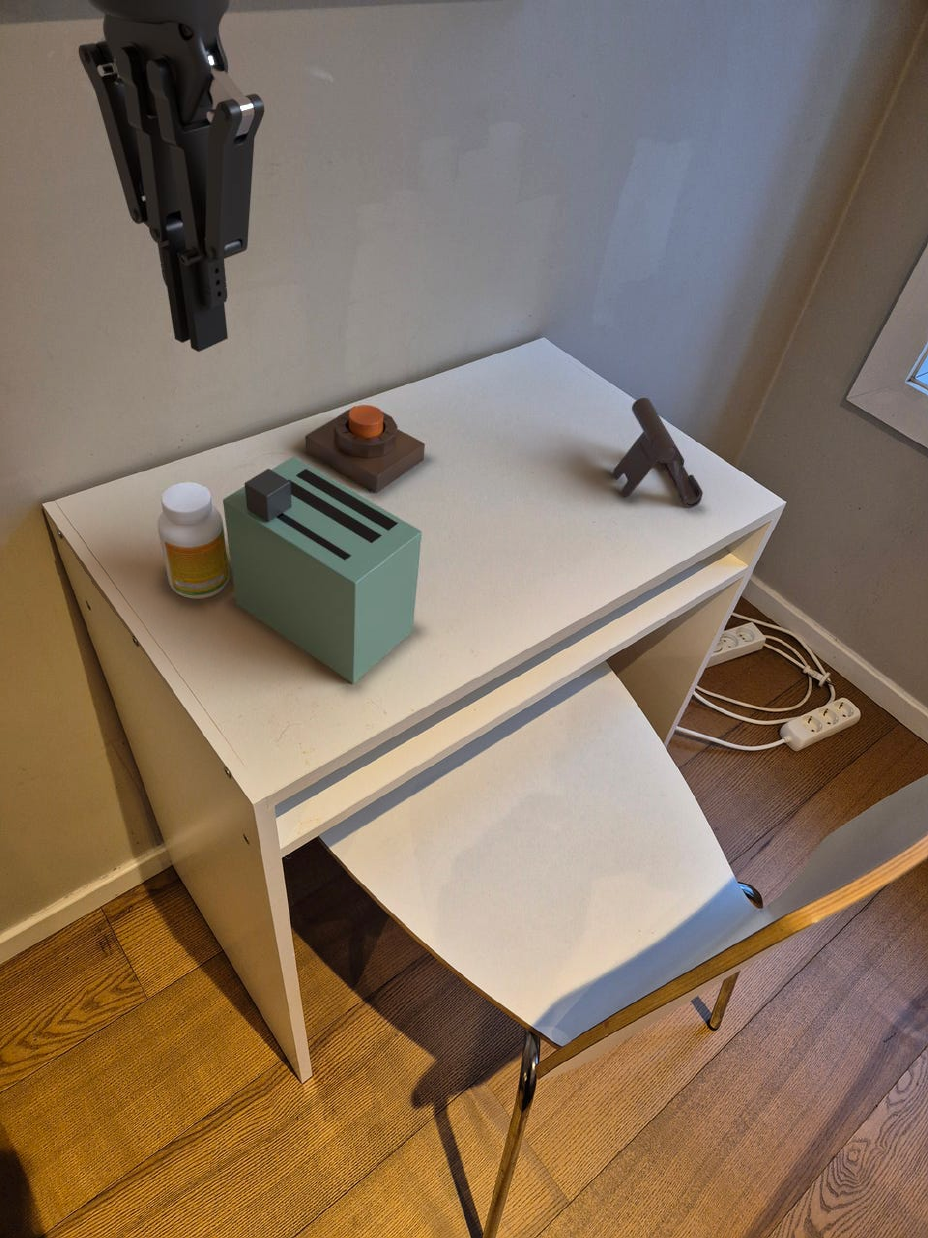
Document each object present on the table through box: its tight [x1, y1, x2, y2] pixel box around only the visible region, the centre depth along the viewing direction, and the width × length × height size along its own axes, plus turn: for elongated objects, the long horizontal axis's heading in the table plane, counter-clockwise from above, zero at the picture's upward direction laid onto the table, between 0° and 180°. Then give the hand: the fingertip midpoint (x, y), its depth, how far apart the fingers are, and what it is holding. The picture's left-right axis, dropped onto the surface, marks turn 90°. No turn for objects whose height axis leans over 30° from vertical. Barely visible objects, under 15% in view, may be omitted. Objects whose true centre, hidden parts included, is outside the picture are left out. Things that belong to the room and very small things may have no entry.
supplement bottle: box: [157, 481, 231, 600], centre depth 75 cm, size 5×5×10 cm
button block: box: [304, 405, 426, 494], centre depth 92 cm, size 10×8×4 cm
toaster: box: [222, 456, 423, 685], centre depth 73 cm, size 14×8×12 cm, turn 53°
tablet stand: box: [612, 397, 704, 508], centre depth 93 cm, size 9×8×8 cm
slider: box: [244, 468, 292, 522], centre depth 67 cm, size 2×3×3 cm
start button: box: [349, 404, 383, 438], centre depth 90 cm, size 4×4×2 cm
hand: (201, 338), depth 61 cm, fingers closed
